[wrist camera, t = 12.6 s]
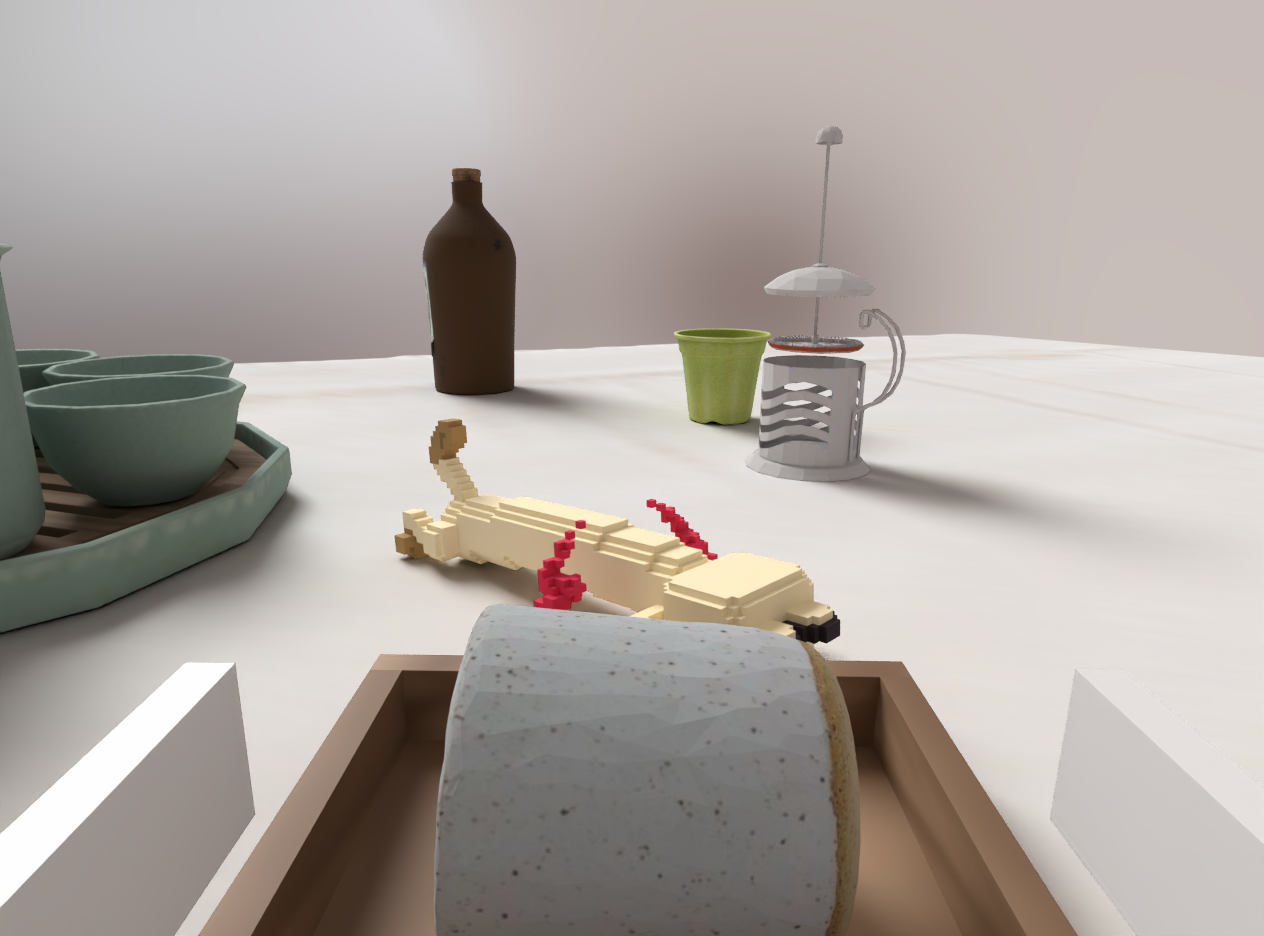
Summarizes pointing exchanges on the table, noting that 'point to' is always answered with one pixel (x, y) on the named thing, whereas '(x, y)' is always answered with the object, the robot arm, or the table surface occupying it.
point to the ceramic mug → (644, 782)
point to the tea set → (120, 473)
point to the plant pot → (721, 372)
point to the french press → (817, 379)
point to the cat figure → (612, 557)
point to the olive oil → (470, 294)
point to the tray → (408, 795)
